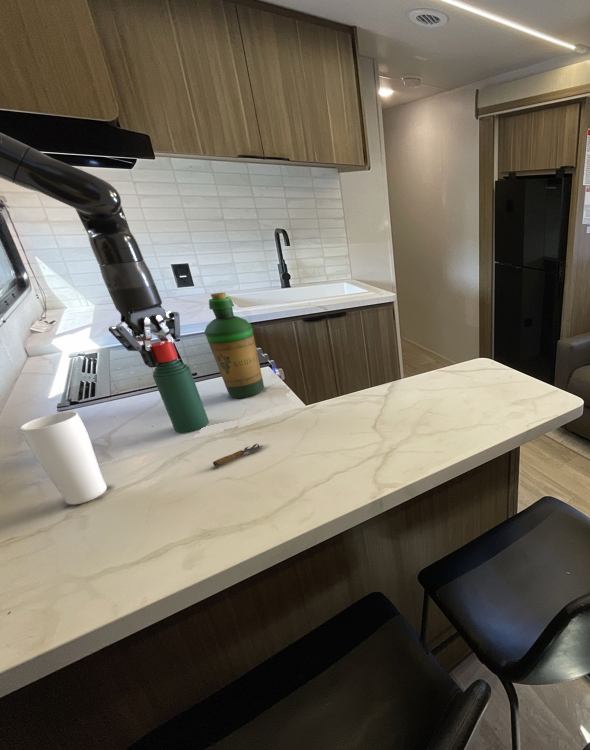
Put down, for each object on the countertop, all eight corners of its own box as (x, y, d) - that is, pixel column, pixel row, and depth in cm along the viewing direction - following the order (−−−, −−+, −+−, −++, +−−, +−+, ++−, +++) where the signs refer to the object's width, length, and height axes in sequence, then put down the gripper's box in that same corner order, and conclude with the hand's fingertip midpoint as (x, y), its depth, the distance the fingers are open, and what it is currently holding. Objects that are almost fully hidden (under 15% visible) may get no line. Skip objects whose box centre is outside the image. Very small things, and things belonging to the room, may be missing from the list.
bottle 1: (169, 435, 91) (134, 352, 84) (184, 421, 97) (153, 342, 90) (201, 431, 92) (170, 349, 85) (213, 417, 98) (186, 339, 91)
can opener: (215, 468, 77) (213, 462, 76) (211, 464, 78) (210, 458, 78) (265, 448, 83) (264, 443, 83) (261, 444, 84) (259, 439, 84)
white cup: (100, 481, 75) (65, 409, 69) (121, 488, 72) (87, 413, 67) (52, 504, 69) (9, 426, 63) (73, 512, 66) (31, 432, 61)
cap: (176, 360, 88) (170, 343, 86) (153, 364, 86) (146, 347, 84) (179, 355, 91) (173, 339, 89) (157, 358, 89) (151, 342, 88)
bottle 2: (226, 404, 107) (192, 298, 97) (224, 392, 115) (192, 294, 105) (271, 393, 112) (243, 292, 102) (266, 383, 120) (239, 289, 111)
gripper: (109, 290, 75) (146, 375, 82) (177, 278, 88) (204, 352, 95) (78, 292, 77) (116, 375, 83) (149, 280, 90) (178, 353, 96)
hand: (163, 362), depth 89 cm, fingers closed on cap, 3 cm apart
